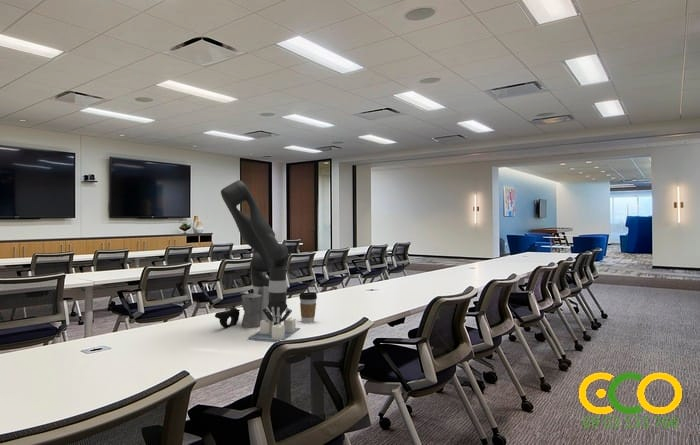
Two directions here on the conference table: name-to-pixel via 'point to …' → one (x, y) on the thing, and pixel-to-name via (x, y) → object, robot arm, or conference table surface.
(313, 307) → the coffee cup
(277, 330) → the white toy brick
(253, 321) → the coffeepot
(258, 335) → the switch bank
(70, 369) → the conference table surface
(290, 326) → the white studded block
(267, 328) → the cream white block
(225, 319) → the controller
